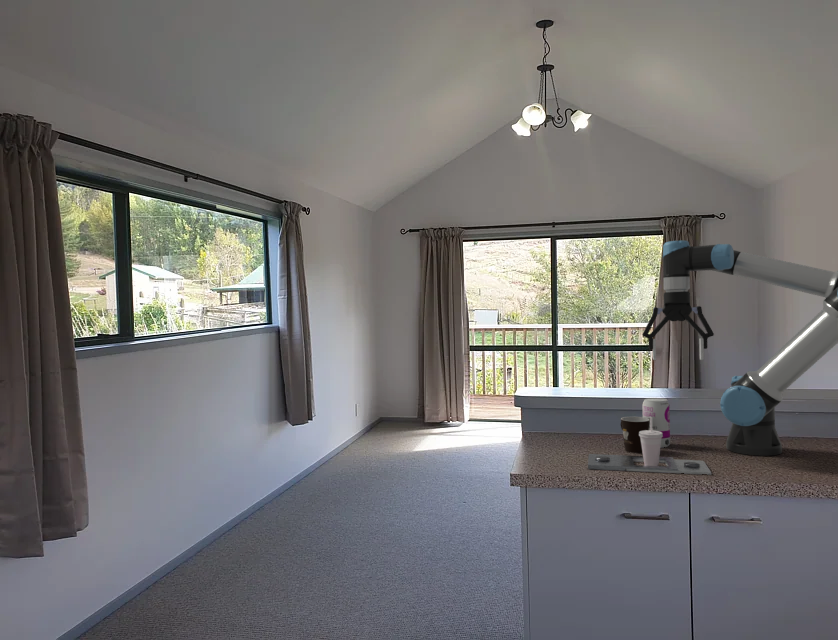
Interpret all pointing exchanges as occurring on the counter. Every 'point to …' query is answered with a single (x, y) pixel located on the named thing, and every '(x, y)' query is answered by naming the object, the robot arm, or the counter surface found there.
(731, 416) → the robot arm
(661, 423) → the supplement can
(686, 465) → the link plate
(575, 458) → the counter surface
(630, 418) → the coffee mug
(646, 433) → the smoothie
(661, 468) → the link plate
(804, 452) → the counter surface
